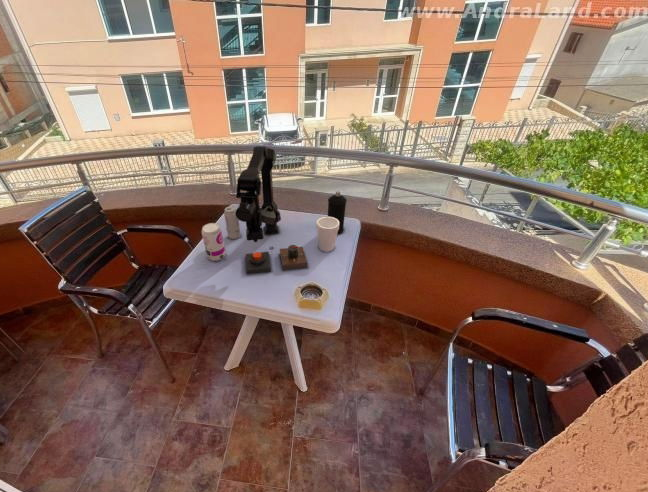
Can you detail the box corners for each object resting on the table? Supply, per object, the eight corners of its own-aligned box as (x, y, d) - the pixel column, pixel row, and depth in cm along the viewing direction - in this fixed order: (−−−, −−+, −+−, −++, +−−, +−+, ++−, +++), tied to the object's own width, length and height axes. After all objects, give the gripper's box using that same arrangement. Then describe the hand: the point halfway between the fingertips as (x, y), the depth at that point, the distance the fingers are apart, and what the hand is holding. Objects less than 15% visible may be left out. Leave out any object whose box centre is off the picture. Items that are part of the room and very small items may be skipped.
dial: (289, 258, 133) (288, 250, 130) (287, 252, 136) (287, 244, 133) (298, 257, 133) (298, 249, 130) (297, 251, 136) (296, 243, 133)
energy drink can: (240, 239, 150) (236, 212, 141) (227, 240, 151) (222, 212, 141) (241, 232, 155) (237, 205, 145) (229, 233, 155) (224, 205, 146)
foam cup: (336, 254, 138) (338, 229, 129) (315, 253, 139) (315, 228, 131) (337, 241, 145) (339, 217, 136) (317, 240, 146) (318, 216, 138)
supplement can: (228, 251, 144) (223, 223, 134) (220, 263, 138) (214, 234, 128) (212, 249, 146) (206, 221, 136) (204, 260, 140) (197, 231, 130)
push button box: (246, 257, 140) (245, 250, 137) (268, 255, 140) (268, 248, 137) (246, 274, 131) (245, 266, 129) (271, 271, 132) (270, 264, 129)
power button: (253, 255, 135) (252, 252, 133) (261, 254, 135) (261, 251, 134) (253, 260, 132) (253, 257, 131) (262, 260, 132) (261, 256, 131)
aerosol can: (339, 236, 148) (343, 197, 135) (323, 231, 151) (325, 193, 138) (346, 227, 153) (350, 189, 140) (330, 223, 157) (333, 185, 144)
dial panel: (280, 254, 140) (279, 248, 138) (302, 251, 141) (302, 246, 138) (283, 270, 132) (282, 264, 130) (307, 267, 132) (307, 262, 130)
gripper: (276, 218, 111) (278, 253, 121) (271, 193, 125) (273, 226, 135) (244, 221, 111) (249, 256, 121) (243, 196, 125) (247, 229, 135)
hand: (255, 241), depth 128 cm, fingers closed
